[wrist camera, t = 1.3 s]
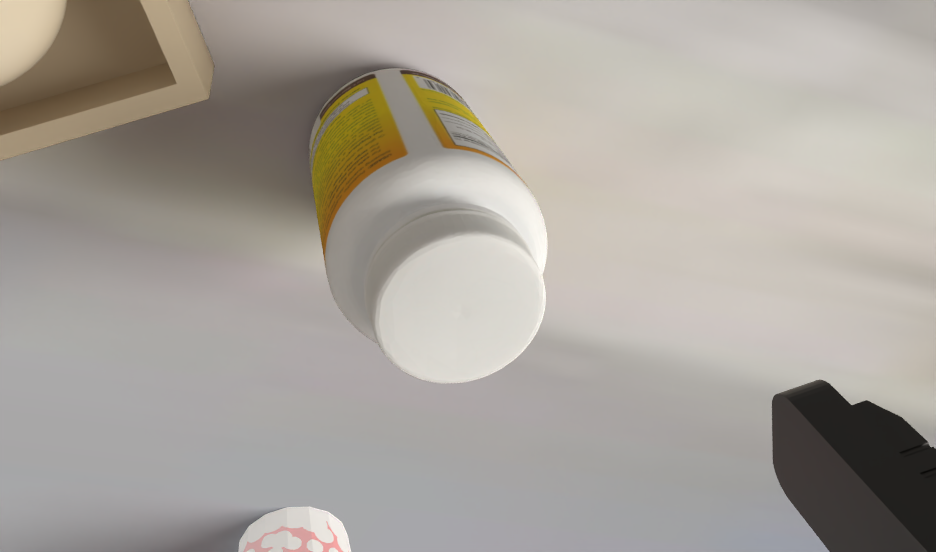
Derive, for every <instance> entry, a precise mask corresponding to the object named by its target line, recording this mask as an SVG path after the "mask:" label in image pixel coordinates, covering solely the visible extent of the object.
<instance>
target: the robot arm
mask: <svg viewBox="0 0 936 552" xmlns="http://www.w3.org/2000/svg"><path fill="white" fill-rule="evenodd" d="M772 436H773V464H774V469H775V472H776V475H777V478H778V480H779V483H780V485H781V487H782V489H783V491H784V492H785V494H786V496H787V497H788V498H789V500H790V501H791V503H792V504H793V505H794V506H795V508H796V509H797V510H798V511H799V513H800V514H801V515H802V517H803V518H804V519H805V520H806V522H807V523H808V524H809V526H810V527H811V528H812V529H813V531H814V532H815V533H816V535H817V536H818V537H819V538H820V540H821V541H822V542H823V543H824V545H825V546H826V547H827V549H828V550H829V551H830V552H936V449H935V448H934V447H932V448H931V447H930V446H929V444H928V441H926V440H925V439H924V438H923V437H922V436H921V435H920V434H919V433H918V432H917V431H916V430H915V429H914V428H912V427H911V426H910V425H909V424H908V423H907V422H906V421H905V420H904V419H903V418H902V417H900V416H898V415H896V414H894V413H892V412H890V411H888V410H885V409H883V408H881V407H879V406H877V405H875V404H873V403H871V402H869V401H867V400H866V401H863V402H860V403H857V404H854V405H851V404H849V403H848V402H847V401H846V400H845V399H844V398H843V397H842V396H841V395H840V394H839V393H838V392H837V391H836V390H835V389H834V388H833V387H832V386H831V385H830V384H829V383H827V382H826V381H823V380H816V381H813V382H811V383H808V384H805V385H802V386H799V387H796V388H793V389H790V390H787V391H785V392H782V393H779V394H776V395H775V396H774V397H773V400H772Z"/></svg>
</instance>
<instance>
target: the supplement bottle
mask: <svg viewBox="0 0 936 552" xmlns="http://www.w3.org/2000/svg"><path fill="white" fill-rule="evenodd" d="M309 165H310V173H311V179H312V185H313V192H314V199H315V204H316V211H317V218H318V224H319V230H320V235H321V242H322V248H323V254H324V260H325V267H326V273H327V278H328V282H329V285H330V289H331V292H332V295H333V297H334V299H335V301H336V303H337V305H338V307H339V309H340V310H341V312H342V313H343V315H344V316H345V317H346V318H347V320H348V321H349V322H350V323H351V324H352V325H353V326H354V327H355V328H356V329H357V330H358V331H360V332H361V333H362V334H363V335H365V336H366V337H368V338H369V339H371V340H372V341H374V342H376V343H378V345H379V347H380V348H381V350H382V352H383V353H384V355H385V356H386V357H387V358H388V359H389V360H390V361H391V362H392V363H393V364H394V365H395V366H396V367H398V368H399V369H400V370H402V371H403V372H405V373H406V374H408V375H411V376H413V377H415V378H418V379H421V380H425V381H429V382H434V383H461V382H468V381H472V380H476V379H479V378H482V377H485V376H487V375H490V374H492V373H494V372H496V371H498V370H500V369H501V368H503V367H504V366H506V365H507V364H509V363H510V362H512V361H513V360H514V359H515V358H516V357H518V356H519V355H520V354H521V353H522V352H523V351H524V350H525V348H526V347H527V346H528V345H529V344H530V342H531V341H532V339H533V338H534V336H535V334H536V333H537V331H538V329H539V326H540V324H541V321H542V319H543V315H544V310H545V304H546V292H545V284H544V280H543V277H542V274H543V271H544V268H545V263H546V258H547V232H546V227H545V222H544V218H543V215H542V213H541V210H540V208H539V206H538V203H537V201H536V200H535V198H534V196H533V194H532V193H531V191H530V190H529V188H528V187H527V185H526V184H525V182H524V181H523V180H522V179H521V177H520V176H519V174H518V173H517V172H516V170H515V169H514V168H513V166H512V165H511V164H510V162H509V161H508V159H507V158H506V157H505V155H504V154H503V153H502V151H501V150H500V148H499V147H498V146H497V144H496V143H495V142H494V140H493V139H492V137H491V136H490V135H489V133H488V132H487V131H486V129H485V128H484V127H483V125H482V124H481V122H480V121H479V120H478V118H477V117H476V116H475V114H474V113H473V112H472V110H471V109H470V108H469V106H468V105H467V104H466V102H465V101H464V100H463V99H462V97H461V96H460V95H459V94H458V93H457V92H456V91H455V90H454V89H453V88H451V87H450V86H449V85H448V84H446V83H445V82H443V81H441V80H440V79H438V78H436V77H434V76H432V75H429V74H427V73H424V72H421V71H417V70H411V69H403V68H390V69H382V70H377V71H373V72H370V73H367V74H364V75H362V76H360V77H358V78H355V79H354V80H352V81H350V82H349V83H347V84H346V85H344V86H343V87H342V88H340V89H339V90H338V91H337V92H336V93H335V94H334V95H333V96H332V97H331V98H330V99H329V100H328V101H327V102H326V103H325V105H324V106H323V108H322V109H321V111H320V113H319V115H318V117H317V119H316V121H315V123H314V126H313V129H312V132H311V137H310V143H309Z"/></svg>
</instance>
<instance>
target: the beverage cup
mask: <svg viewBox="0 0 936 552" xmlns="http://www.w3.org/2000/svg"><path fill="white" fill-rule="evenodd" d="M238 552H351V549H350V544H349V539H348V535H347V533H346V530H345V528H344V526H343V524H342V522H341V521H340V520H338V519H337V518H336V517H334V516H333V515H332V514H330V513H329V512H327V511H324V510H320V509H316V508H313V507H309V506H308V507H286V508H283V509H280V510H277V511H274V512H271V513H268V514H265V515H264V516H262V517H261V518H260V519H258V520H257V521H255V522H254V523H252V524H251V525H250V526H249V527H248V528H247V530H246V531H245V533H244V535H243V536H242V538H241V539H240V541H239V551H238Z"/></svg>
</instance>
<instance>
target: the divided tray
mask: <svg viewBox="0 0 936 552" xmlns="http://www.w3.org/2000/svg"><path fill="white" fill-rule="evenodd" d="M213 72H214V63H213V61H212V58H211V56H210V54H209V51H208V49H207V46H206V44H205V41H204V39H203V36H202V34H201V32H200V29H199V27H198V24H197V22H196V19H195V17H194V14H193V12H192V10H191V7H190V5H189V2H188V0H67V3H66V10H65V15H64V18H63V21H62V25H61V28H60V30H59V32H58V34H57V36H56V38H55V40H54V42H53V44H52V45H51V47H50V48H49V49H48V51H47V52H46V54H45V55H44V56H43V57H42V58H41V59H40V60H39V61H38V62H37V63H36V65H35V66H33V67H32V68H31V69H29V70H28V71H27V72H25V73H24V74H23V75H21V76H20V77H19V78H17V79H15V80H13V81H11V82H10V83H8V84H6V85H3V86H1V87H0V161H1V160H4V159H8V158H11V157H14V156H18V155H21V154H24V153H28V152H31V151H35V150H38V149H41V148H45V147H48V146H52V145H55V144H58V143H62V142H65V141H68V140H72V139H75V138H79V137H82V136H85V135H89V134H92V133H95V132H99V131H102V130H106V129H109V128H112V127H116V126H119V125H123V124H126V123H129V122H133V121H136V120H139V119H143V118H146V117H150V116H153V115H156V114H160V113H163V112H166V111H170V110H173V109H177V108H180V107H183V106H187V105H190V104H194V103H197V102H200V101H204V100H207V99H209V95H210V90H211V84H212V78H213Z"/></svg>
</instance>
